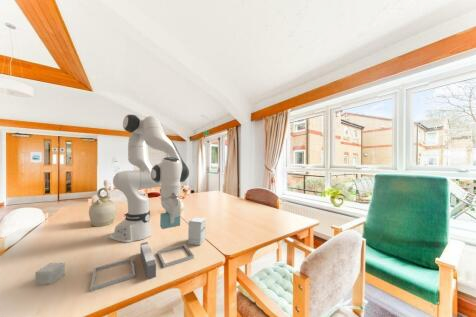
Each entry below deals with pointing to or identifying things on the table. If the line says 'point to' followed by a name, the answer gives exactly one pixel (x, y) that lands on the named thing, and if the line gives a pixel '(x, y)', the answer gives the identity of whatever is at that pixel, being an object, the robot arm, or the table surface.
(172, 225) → the teal rectangular block
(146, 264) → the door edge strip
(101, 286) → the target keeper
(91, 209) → the jug
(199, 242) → the supplement box
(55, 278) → the small box
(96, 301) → the table surface
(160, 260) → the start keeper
